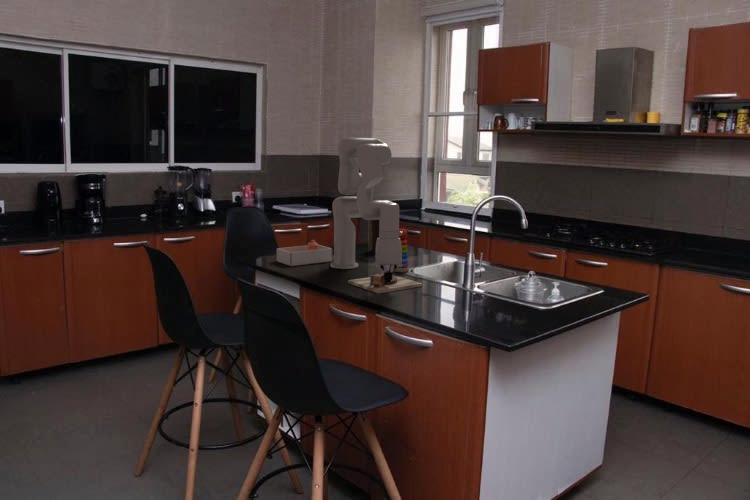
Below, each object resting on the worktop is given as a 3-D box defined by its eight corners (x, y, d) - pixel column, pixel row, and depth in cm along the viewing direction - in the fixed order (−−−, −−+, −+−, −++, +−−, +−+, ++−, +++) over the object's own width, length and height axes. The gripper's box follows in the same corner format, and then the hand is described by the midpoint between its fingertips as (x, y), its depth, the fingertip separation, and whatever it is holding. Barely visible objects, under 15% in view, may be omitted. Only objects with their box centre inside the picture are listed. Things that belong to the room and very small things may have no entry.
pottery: (290, 265, 298) (290, 244, 296) (280, 262, 305) (280, 241, 304) (324, 261, 308) (324, 241, 307) (313, 258, 316) (313, 238, 314)
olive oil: (366, 250, 340) (367, 201, 335) (380, 248, 347) (382, 200, 343) (381, 253, 332) (382, 203, 328) (395, 250, 340) (397, 202, 335)
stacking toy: (407, 273, 287) (408, 230, 283) (389, 272, 288) (390, 229, 285) (410, 269, 294) (411, 228, 291) (392, 268, 296) (393, 227, 293)
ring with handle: (378, 277, 270) (378, 268, 269) (399, 279, 267) (399, 270, 266) (365, 285, 256) (365, 275, 255) (388, 287, 253) (388, 277, 252)
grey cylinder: (366, 283, 260) (367, 263, 259) (385, 280, 266) (386, 261, 265) (371, 285, 258) (371, 265, 256) (390, 282, 264) (391, 262, 262)
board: (348, 283, 266) (348, 280, 265) (391, 276, 279) (391, 274, 278) (378, 293, 250) (378, 290, 250) (422, 286, 263) (422, 283, 263)
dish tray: (276, 261, 307) (276, 248, 306) (317, 256, 320) (317, 244, 319) (290, 266, 296) (290, 252, 295) (332, 261, 310) (332, 248, 308)
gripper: (406, 233, 257) (405, 279, 260) (368, 233, 256) (367, 279, 259) (409, 236, 250) (408, 283, 253) (370, 236, 248) (370, 284, 251)
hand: (388, 281), depth 256 cm, fingers closed
